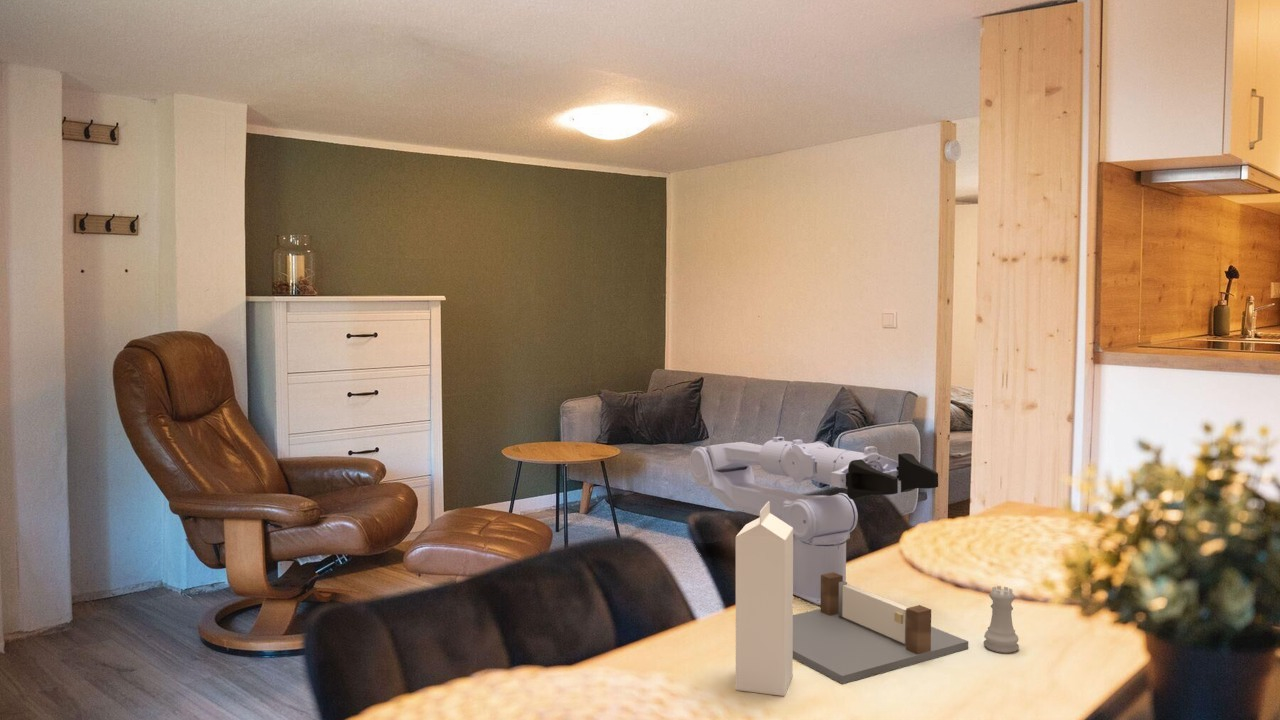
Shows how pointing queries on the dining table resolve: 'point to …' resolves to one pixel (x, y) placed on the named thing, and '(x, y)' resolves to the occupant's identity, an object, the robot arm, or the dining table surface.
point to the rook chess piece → (1001, 623)
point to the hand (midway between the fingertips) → (916, 483)
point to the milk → (764, 605)
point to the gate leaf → (872, 611)
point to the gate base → (858, 647)
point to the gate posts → (915, 616)
